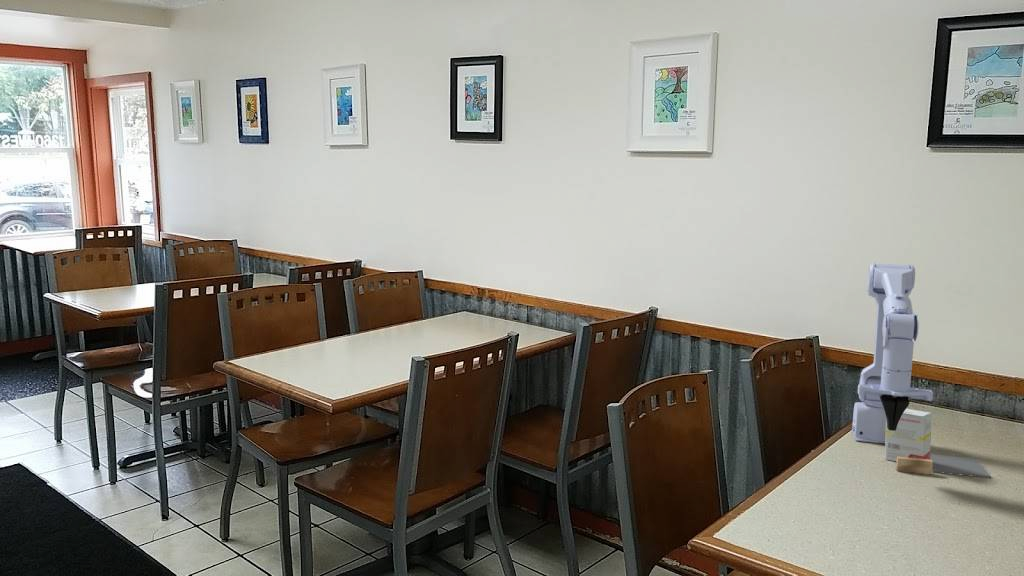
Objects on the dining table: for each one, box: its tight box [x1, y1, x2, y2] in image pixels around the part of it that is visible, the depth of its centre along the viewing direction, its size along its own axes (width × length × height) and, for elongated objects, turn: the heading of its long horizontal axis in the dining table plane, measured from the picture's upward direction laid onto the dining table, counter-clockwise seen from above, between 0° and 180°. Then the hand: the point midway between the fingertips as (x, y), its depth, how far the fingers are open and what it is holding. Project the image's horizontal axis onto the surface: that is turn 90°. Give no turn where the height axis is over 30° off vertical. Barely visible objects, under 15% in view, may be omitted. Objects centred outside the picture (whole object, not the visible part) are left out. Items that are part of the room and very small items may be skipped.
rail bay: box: [895, 456, 933, 475], centre depth 179 cm, size 7×14×3 cm, turn 164°
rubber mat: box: [930, 453, 992, 479], centre depth 177 cm, size 12×11×1 cm
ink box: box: [884, 408, 933, 463], centre depth 179 cm, size 9×5×12 cm, turn 44°
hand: (891, 429), depth 170 cm, fingers closed
